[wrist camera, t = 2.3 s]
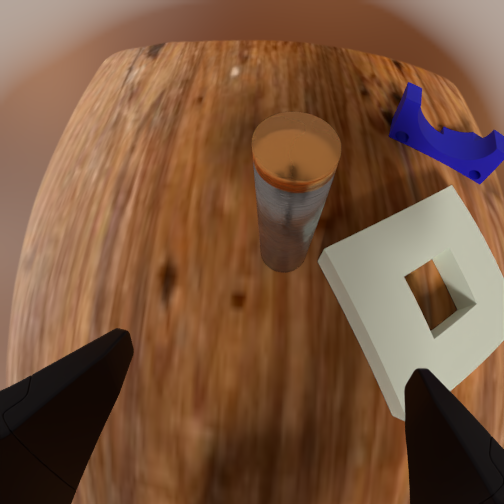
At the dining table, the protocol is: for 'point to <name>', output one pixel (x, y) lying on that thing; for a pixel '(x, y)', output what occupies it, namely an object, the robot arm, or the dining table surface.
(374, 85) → the dining table surface
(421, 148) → the blue cradle bracket
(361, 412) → the dining table surface
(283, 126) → the steel pin
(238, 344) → the dining table surface
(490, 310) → the block
